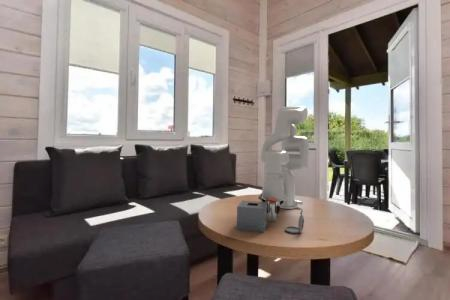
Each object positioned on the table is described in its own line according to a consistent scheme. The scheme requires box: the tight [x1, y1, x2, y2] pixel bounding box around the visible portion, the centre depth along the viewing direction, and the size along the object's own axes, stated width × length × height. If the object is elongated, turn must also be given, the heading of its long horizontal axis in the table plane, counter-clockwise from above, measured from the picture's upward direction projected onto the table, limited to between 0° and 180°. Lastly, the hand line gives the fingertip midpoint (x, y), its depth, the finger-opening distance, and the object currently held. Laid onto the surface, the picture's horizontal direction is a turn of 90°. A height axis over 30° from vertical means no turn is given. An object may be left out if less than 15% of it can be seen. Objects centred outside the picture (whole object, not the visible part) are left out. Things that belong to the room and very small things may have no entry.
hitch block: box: [236, 199, 268, 234], centre depth 115 cm, size 12×12×10 cm
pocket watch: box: [284, 209, 305, 234], centre depth 109 cm, size 8×8×10 cm
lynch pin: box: [267, 198, 278, 222], centre depth 124 cm, size 6×6×12 cm
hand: (272, 212), depth 124 cm, fingers open, 4 cm apart
